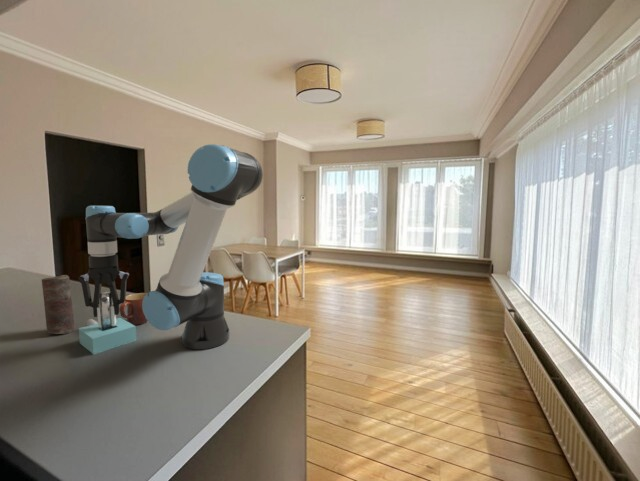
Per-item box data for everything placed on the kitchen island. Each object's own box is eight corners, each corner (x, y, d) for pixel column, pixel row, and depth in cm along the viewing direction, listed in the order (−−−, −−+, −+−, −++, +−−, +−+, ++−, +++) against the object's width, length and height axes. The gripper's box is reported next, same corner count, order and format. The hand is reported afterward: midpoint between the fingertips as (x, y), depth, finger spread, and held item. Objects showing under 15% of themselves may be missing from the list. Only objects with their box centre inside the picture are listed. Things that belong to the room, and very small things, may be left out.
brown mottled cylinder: (43, 338, 100) (38, 279, 98) (50, 329, 106) (45, 274, 104) (72, 334, 103) (67, 277, 101) (77, 326, 110) (73, 272, 107)
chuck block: (136, 340, 100) (135, 326, 99) (93, 354, 90) (92, 338, 90) (109, 323, 113) (108, 311, 112) (69, 334, 103) (68, 320, 102)
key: (104, 331, 100) (102, 291, 99) (115, 330, 101) (113, 290, 100) (100, 338, 95) (97, 296, 93) (111, 337, 96) (109, 295, 95)
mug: (137, 316, 120) (136, 292, 119) (156, 319, 118) (155, 294, 117) (111, 328, 108) (110, 301, 107) (132, 331, 107) (130, 303, 106)
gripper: (134, 251, 102) (137, 317, 105) (75, 253, 95) (80, 324, 98) (130, 255, 95) (134, 326, 98) (67, 257, 88) (73, 333, 91)
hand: (107, 324), depth 98 cm, fingers closed on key, 3 cm apart
